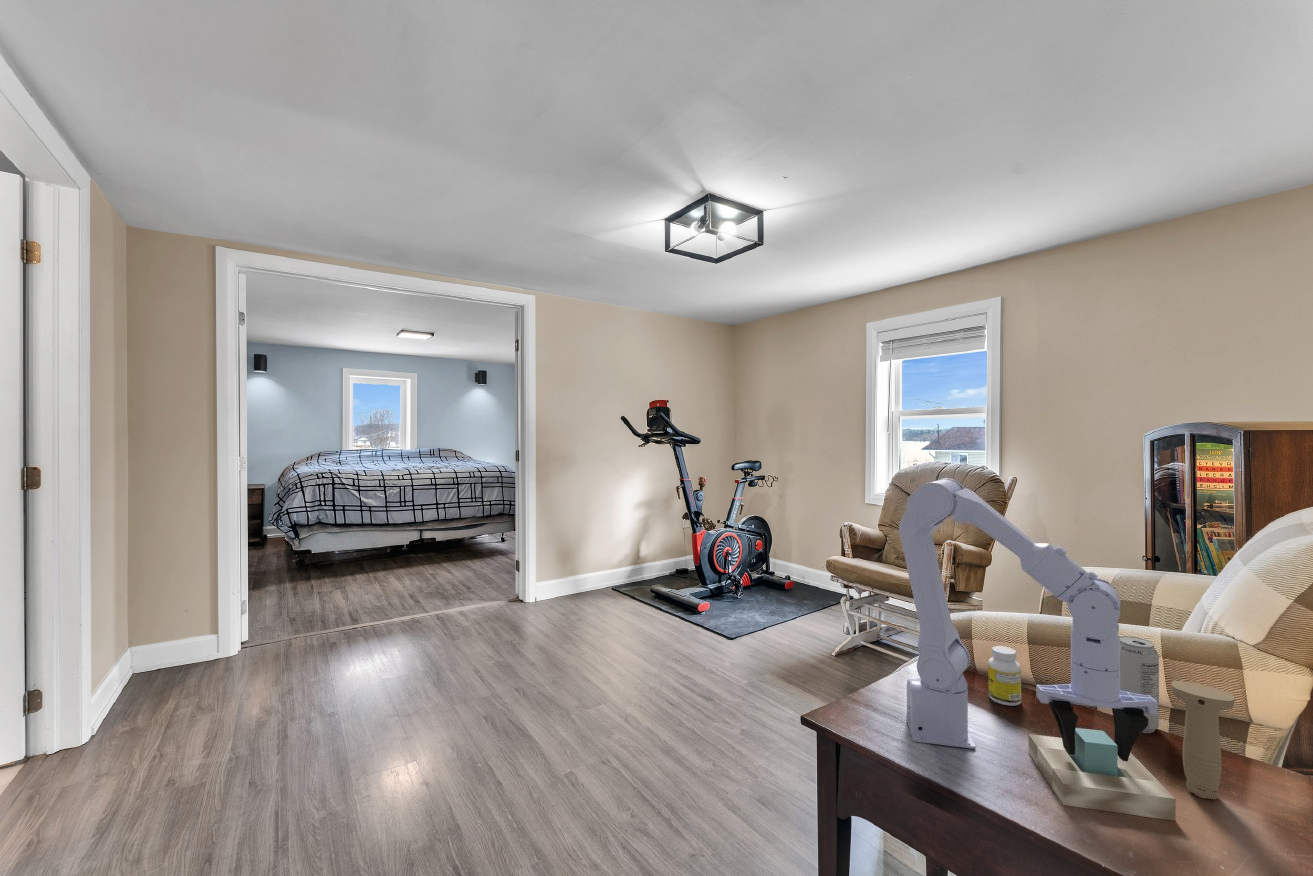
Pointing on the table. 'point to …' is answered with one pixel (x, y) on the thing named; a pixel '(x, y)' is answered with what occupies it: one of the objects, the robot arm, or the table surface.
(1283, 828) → the table surface
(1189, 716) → the handle
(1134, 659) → the energy drink can
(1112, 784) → the socket block
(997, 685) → the supplement bottle
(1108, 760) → the peg
